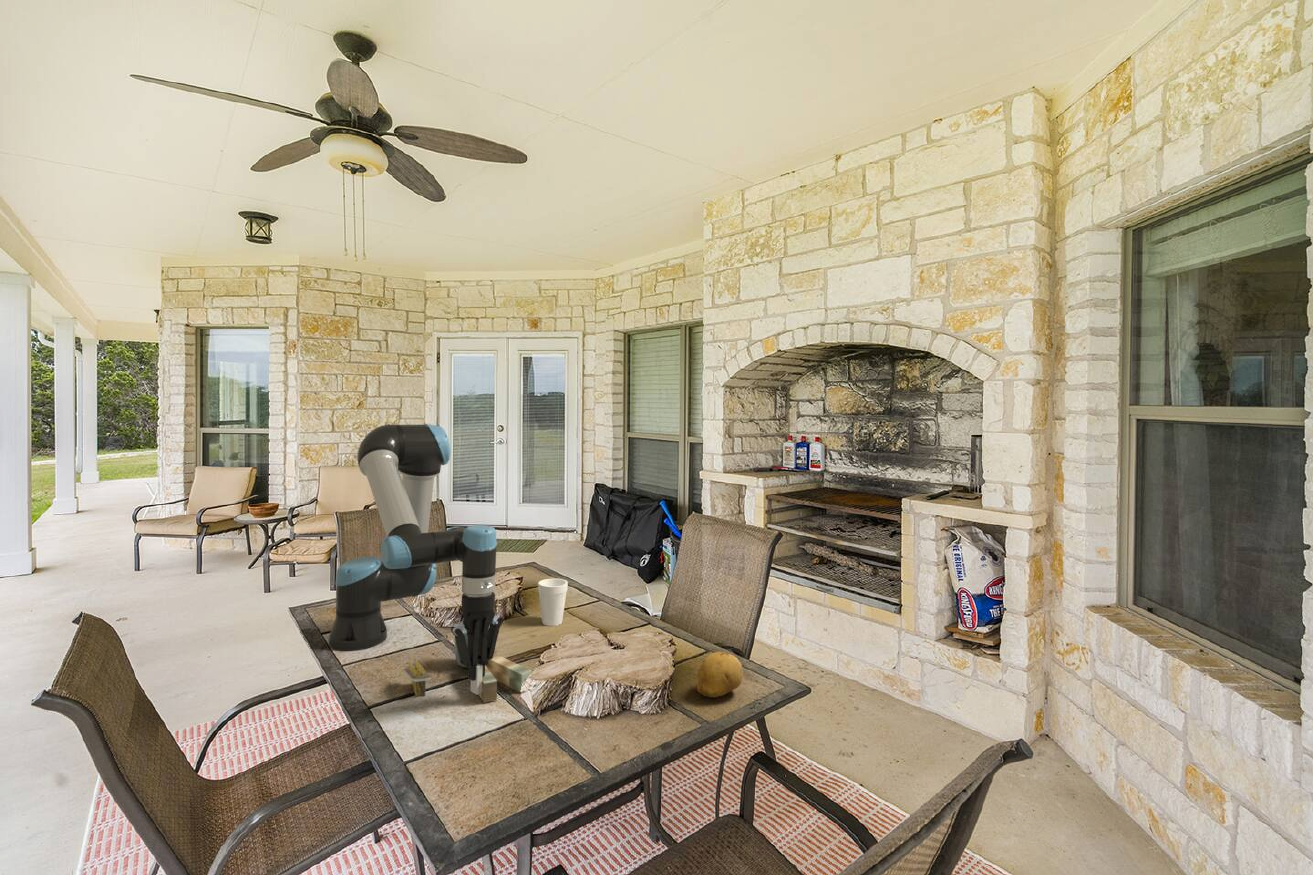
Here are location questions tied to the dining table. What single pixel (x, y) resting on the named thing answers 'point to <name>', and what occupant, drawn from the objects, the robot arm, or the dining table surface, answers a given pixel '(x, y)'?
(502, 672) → the tan green block
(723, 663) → the potato
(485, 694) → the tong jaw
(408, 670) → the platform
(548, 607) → the foam cup
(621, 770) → the dining table surface
